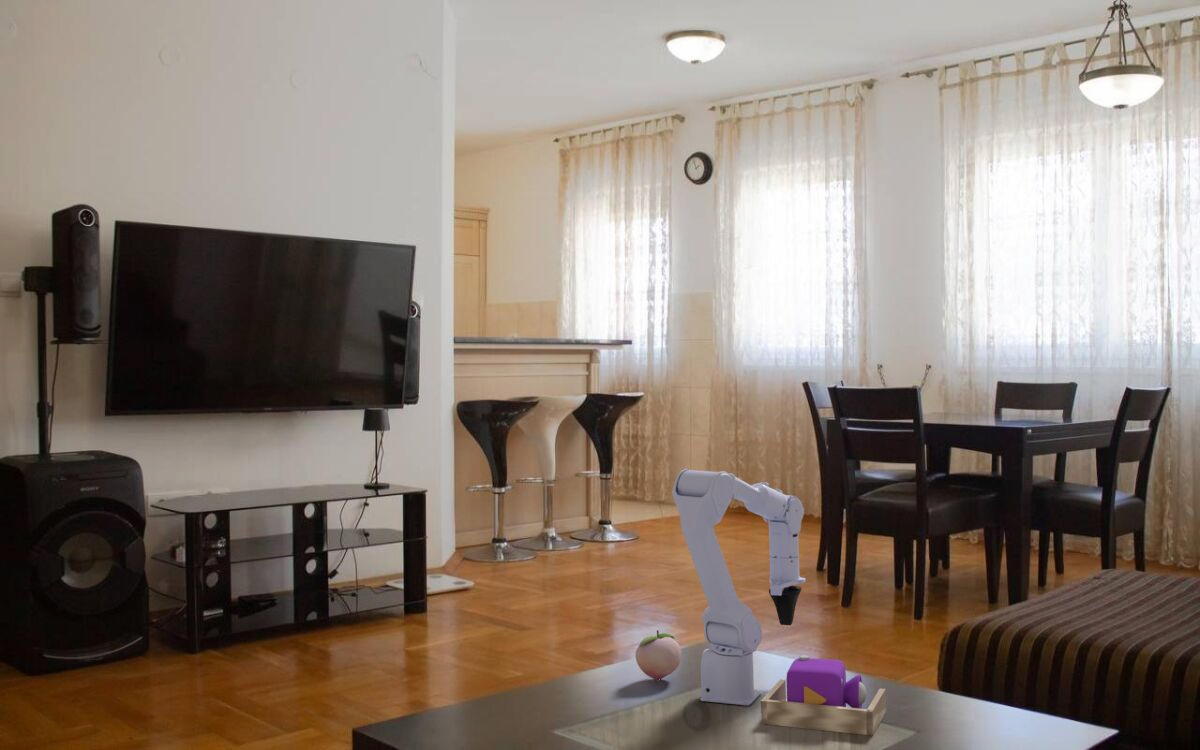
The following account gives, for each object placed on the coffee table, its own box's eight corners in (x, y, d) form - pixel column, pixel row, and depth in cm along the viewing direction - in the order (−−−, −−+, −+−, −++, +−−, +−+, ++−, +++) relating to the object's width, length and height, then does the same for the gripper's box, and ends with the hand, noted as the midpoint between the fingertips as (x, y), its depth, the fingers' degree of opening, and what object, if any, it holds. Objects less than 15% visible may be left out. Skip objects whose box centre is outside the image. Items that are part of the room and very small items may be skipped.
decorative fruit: (663, 690, 213) (662, 638, 213) (629, 683, 219) (628, 632, 218) (691, 678, 221) (689, 628, 221) (657, 671, 226) (656, 622, 226)
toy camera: (869, 729, 189) (868, 670, 188) (788, 727, 191) (786, 669, 190) (863, 708, 199) (862, 653, 199) (786, 707, 201) (784, 652, 201)
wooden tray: (761, 723, 193) (761, 700, 193) (780, 701, 205) (780, 679, 205) (872, 735, 185) (872, 711, 185) (886, 711, 197) (885, 688, 197)
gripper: (795, 563, 211) (797, 634, 211) (812, 549, 224) (814, 617, 224) (759, 561, 214) (761, 632, 214) (778, 548, 227) (780, 614, 227)
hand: (786, 624), depth 219 cm, fingers closed
